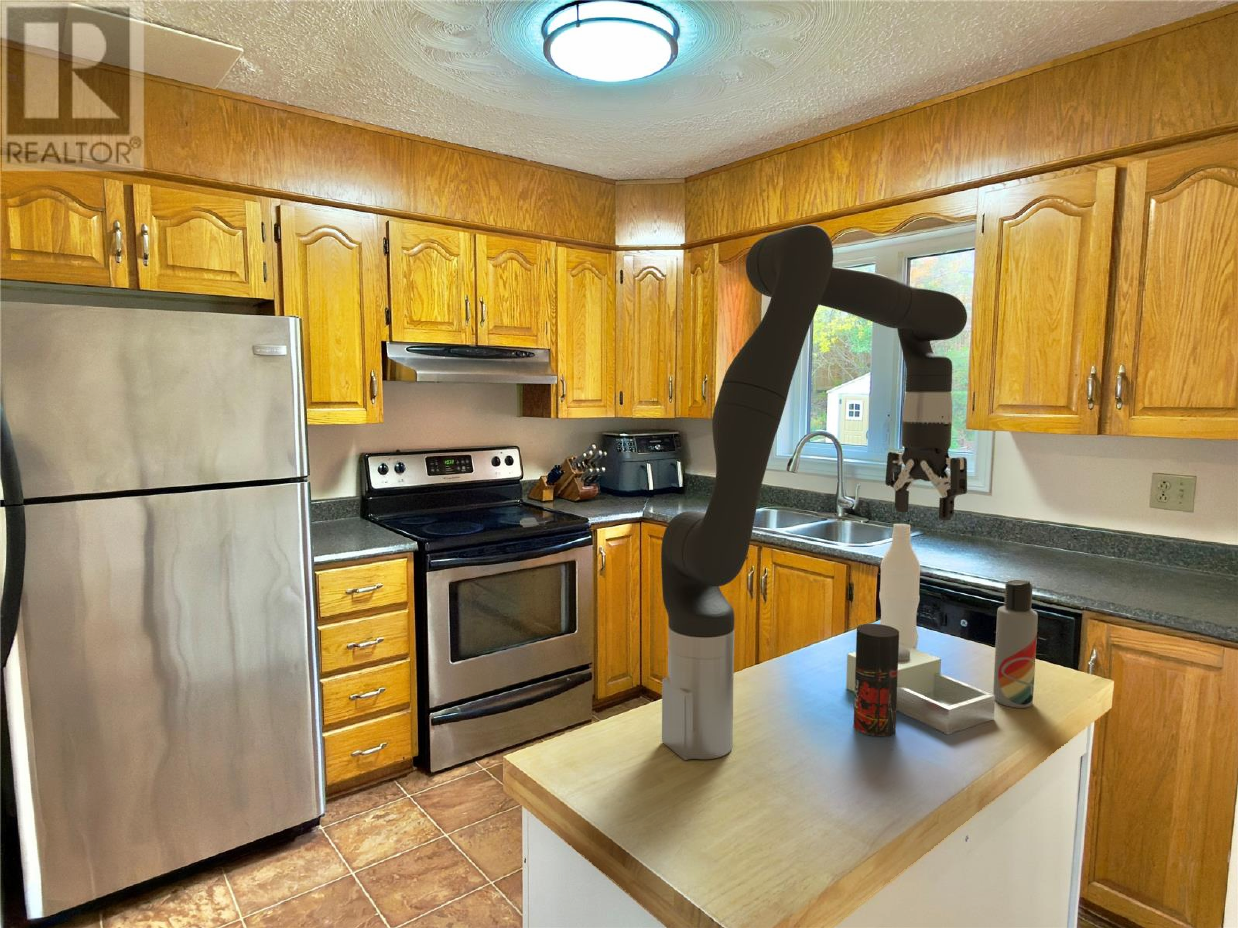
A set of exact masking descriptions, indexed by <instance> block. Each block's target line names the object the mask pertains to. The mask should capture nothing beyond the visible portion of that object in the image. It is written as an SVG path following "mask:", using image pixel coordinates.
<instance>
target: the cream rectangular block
mask: <svg viewBox="0 0 1238 928" xmlns="http://www.w3.org/2000/svg"><path fill="white" fill-rule="evenodd" d="M846 657H847V658H846V679H845V680H846V683H845V684H846V687H845V689H847V690H849V691H851V692H854V693H855V667H856V651H854V652H850V653H846ZM941 665H942V658H941V657H940V658H939V657H937V656H934V655H933V654H929V653H926V652H923V651H921V650H918V649H917V648H916V649H914V648H911V647H908V646H906V645H903V644H900V643H899V652H898V677H897V684H898V685H900V686H902V687H905V688H907V689H909V690H911V691H914V692H916V693H918V694H925V693H928V692H931V691H934V673H940V674H942V673H941V670H942V666H941Z"/></svg>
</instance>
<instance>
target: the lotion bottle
mask: <svg viewBox="0 0 1238 928" xmlns="http://www.w3.org/2000/svg"><path fill="white" fill-rule="evenodd" d="M1004 586H1005V589H1004V605H1002V606H999V607H998V608H997V612H996V613H997V614H996V631H995V633H996V634H995V648H994V649H995V651H994V667H993V668H994V669H993V685H992V686H993V688H992V689H993V691H992V694H993V695H995V702H997V703H1000V704H1001V705H1004V706H1007V707H1011V708H1017V709H1026V708H1030V707H1031V706H1032V705H1033V701H1034V693H1035V692H1034V690H1035V676H1036V673H1035V672H1036V658H1037V657H1036V654H1037V637H1038V618H1039V615H1038V612H1037V611H1036V610H1034V609H1032V602H1033V589H1034V588H1033V585H1032V583H1031V581H1029V580H1021V579H1012V580H1008V581H1007V582H1005V584H1004Z"/></svg>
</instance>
